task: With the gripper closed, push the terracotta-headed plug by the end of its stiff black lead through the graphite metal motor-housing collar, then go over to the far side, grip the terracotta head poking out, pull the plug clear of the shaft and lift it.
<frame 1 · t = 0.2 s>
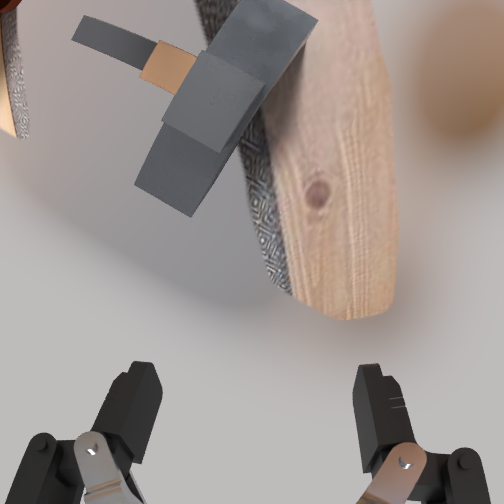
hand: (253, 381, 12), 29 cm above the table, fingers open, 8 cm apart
housing: (234, 98, 33), on the table
plug: (141, 51, 31), on the table
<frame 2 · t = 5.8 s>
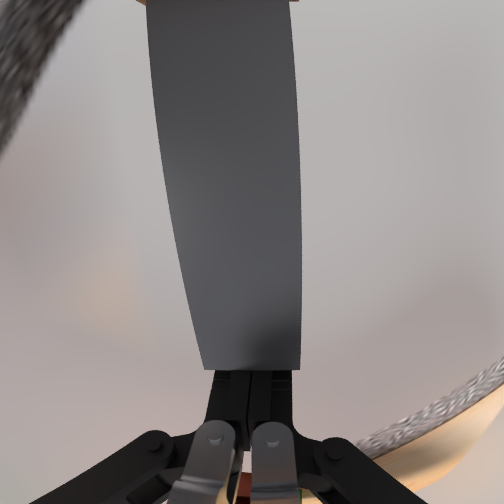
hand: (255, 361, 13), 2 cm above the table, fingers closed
motor: (243, 487, 24), on the table
plug: (237, 103, 10), on the table, touching gripper
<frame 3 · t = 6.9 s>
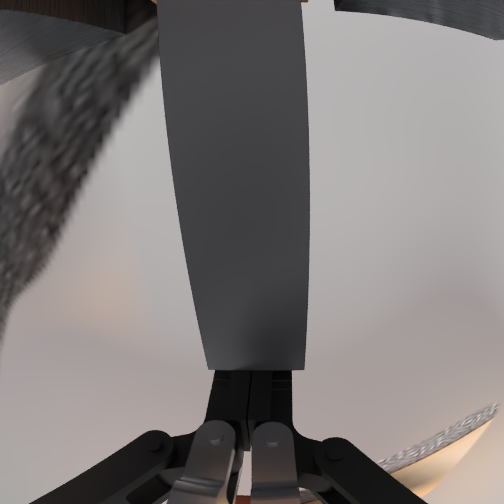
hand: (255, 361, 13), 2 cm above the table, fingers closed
plug: (245, 103, 10), on the table, touching gripper
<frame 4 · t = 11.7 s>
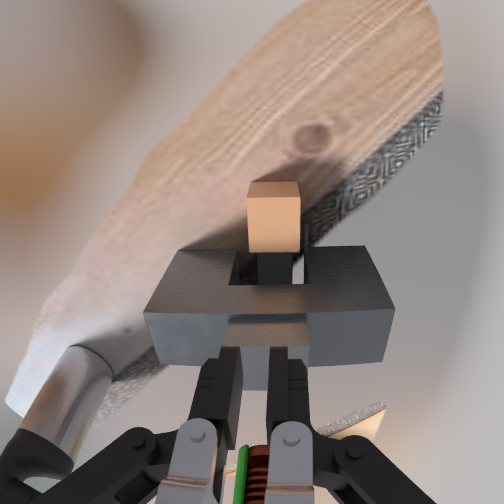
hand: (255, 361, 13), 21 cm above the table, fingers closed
motor: (264, 453, 55), on the table
housing: (271, 272, 35), on the table
plug: (275, 259, 35), on the table
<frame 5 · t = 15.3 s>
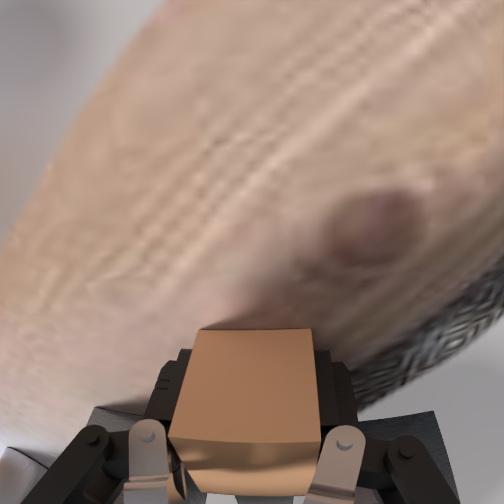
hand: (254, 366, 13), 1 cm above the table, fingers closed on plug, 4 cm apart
housing: (261, 450, 17), on the table
plug: (264, 438, 16), on the table, touching gripper
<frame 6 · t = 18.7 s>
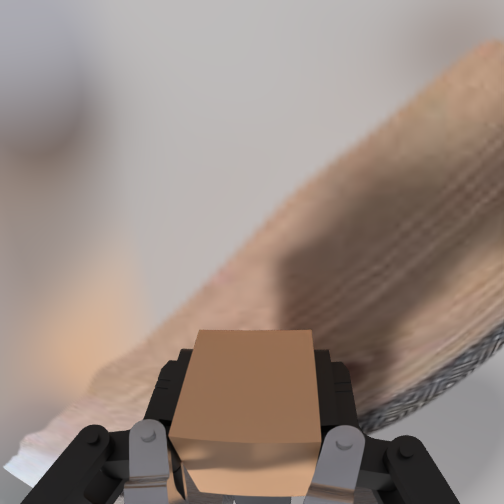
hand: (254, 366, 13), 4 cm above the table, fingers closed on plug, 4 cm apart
housing: (270, 470, 25), on the table
plug: (263, 438, 16), point 3 cm above the table, touching gripper
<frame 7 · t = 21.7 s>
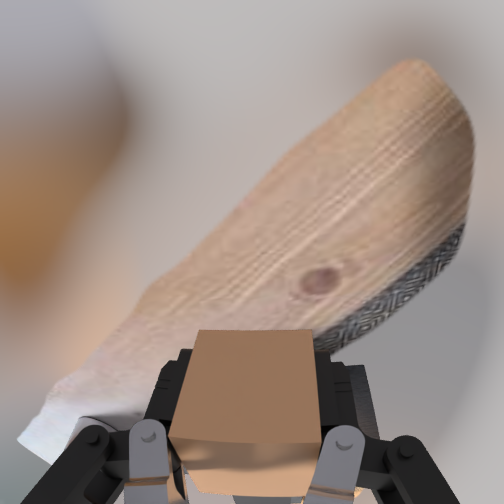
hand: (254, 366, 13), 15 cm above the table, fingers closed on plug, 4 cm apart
housing: (273, 385, 35), on the table
plug: (263, 438, 16), point 15 cm above the table, touching gripper
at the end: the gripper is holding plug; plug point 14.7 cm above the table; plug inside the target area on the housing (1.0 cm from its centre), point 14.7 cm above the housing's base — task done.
